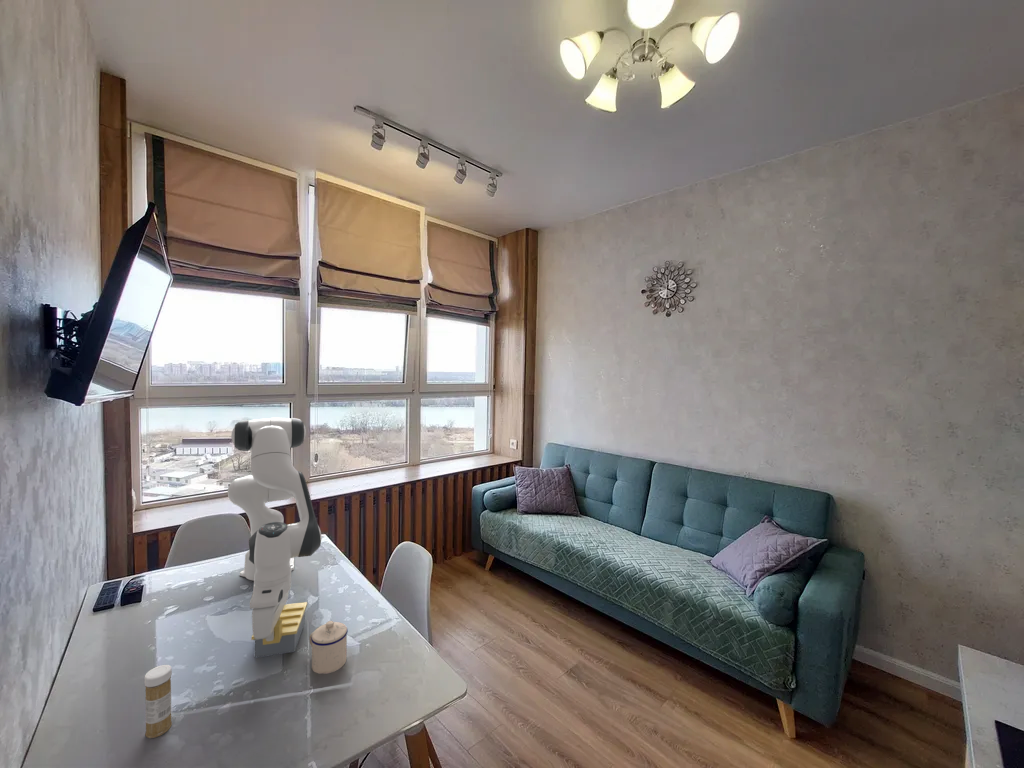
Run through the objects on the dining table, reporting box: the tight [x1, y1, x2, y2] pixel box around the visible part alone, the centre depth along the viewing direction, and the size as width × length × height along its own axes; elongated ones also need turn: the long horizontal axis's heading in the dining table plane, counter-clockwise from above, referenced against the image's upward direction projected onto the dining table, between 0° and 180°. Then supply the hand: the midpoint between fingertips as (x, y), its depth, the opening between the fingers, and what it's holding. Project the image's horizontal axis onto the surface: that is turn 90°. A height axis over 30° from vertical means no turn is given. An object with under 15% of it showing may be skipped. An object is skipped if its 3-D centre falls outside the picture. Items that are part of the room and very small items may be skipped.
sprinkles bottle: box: [144, 664, 173, 739], centre depth 92 cm, size 5×5×14 cm
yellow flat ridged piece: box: [250, 601, 308, 645], centre depth 121 cm, size 18×11×4 cm, turn 16°
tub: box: [253, 611, 306, 658], centre depth 122 cm, size 14×10×6 cm
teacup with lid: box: [309, 620, 348, 675], centre depth 114 cm, size 12×9×12 cm
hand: (272, 634), depth 114 cm, fingers closed on yellow flat ridged piece, 3 cm apart
